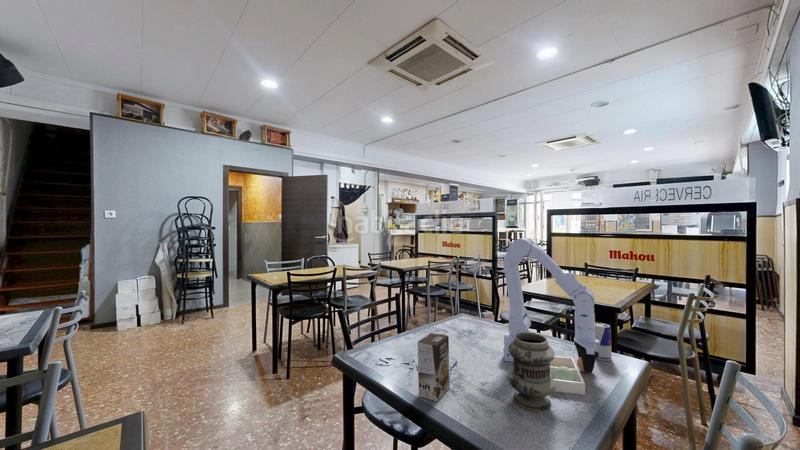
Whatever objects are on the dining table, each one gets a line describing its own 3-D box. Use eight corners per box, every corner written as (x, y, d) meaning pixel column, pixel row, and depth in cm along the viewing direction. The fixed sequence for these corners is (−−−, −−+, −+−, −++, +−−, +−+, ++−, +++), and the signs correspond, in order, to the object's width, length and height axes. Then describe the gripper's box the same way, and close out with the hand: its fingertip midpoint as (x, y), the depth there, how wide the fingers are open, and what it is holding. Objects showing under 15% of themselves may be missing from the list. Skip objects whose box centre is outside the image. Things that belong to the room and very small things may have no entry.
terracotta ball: (578, 374, 102) (578, 358, 102) (575, 367, 107) (575, 352, 107) (596, 376, 100) (596, 360, 100) (592, 369, 105) (592, 354, 105)
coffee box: (438, 402, 88) (436, 345, 88) (417, 396, 91) (416, 341, 91) (450, 387, 96) (449, 335, 96) (431, 382, 99) (430, 331, 99)
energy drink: (614, 361, 110) (613, 327, 110) (597, 360, 111) (596, 327, 111) (607, 355, 115) (606, 322, 115) (591, 354, 116) (590, 322, 116)
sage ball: (556, 386, 94) (556, 369, 94) (554, 378, 99) (554, 362, 99) (575, 388, 92) (575, 371, 92) (572, 380, 97) (571, 364, 97)
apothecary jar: (532, 419, 80) (530, 348, 80) (499, 395, 91) (498, 333, 91) (566, 406, 85) (564, 340, 84) (531, 386, 96) (529, 327, 95)
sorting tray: (549, 390, 93) (549, 379, 93) (543, 364, 109) (543, 354, 109) (585, 395, 90) (585, 383, 90) (573, 367, 106) (572, 357, 106)
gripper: (605, 335, 95) (606, 379, 95) (593, 320, 109) (594, 359, 109) (579, 333, 98) (580, 376, 98) (570, 319, 111) (571, 357, 111)
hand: (585, 367), depth 103 cm, fingers open, 6 cm apart
